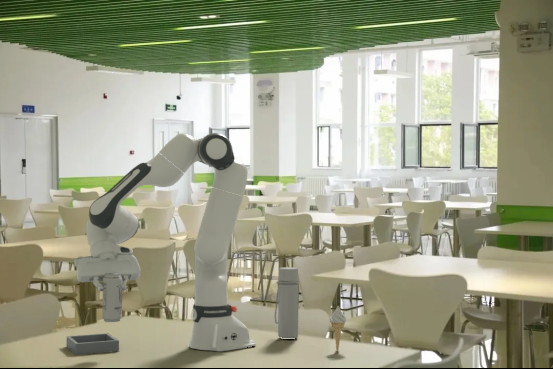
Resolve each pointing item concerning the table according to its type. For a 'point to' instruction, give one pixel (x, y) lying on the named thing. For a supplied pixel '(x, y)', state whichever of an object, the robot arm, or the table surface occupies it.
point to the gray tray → (92, 343)
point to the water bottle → (287, 302)
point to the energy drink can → (112, 297)
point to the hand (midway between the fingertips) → (112, 289)
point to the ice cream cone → (337, 324)
